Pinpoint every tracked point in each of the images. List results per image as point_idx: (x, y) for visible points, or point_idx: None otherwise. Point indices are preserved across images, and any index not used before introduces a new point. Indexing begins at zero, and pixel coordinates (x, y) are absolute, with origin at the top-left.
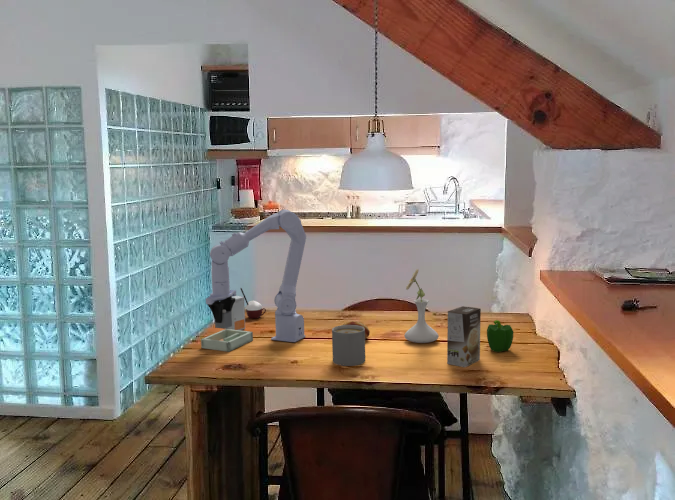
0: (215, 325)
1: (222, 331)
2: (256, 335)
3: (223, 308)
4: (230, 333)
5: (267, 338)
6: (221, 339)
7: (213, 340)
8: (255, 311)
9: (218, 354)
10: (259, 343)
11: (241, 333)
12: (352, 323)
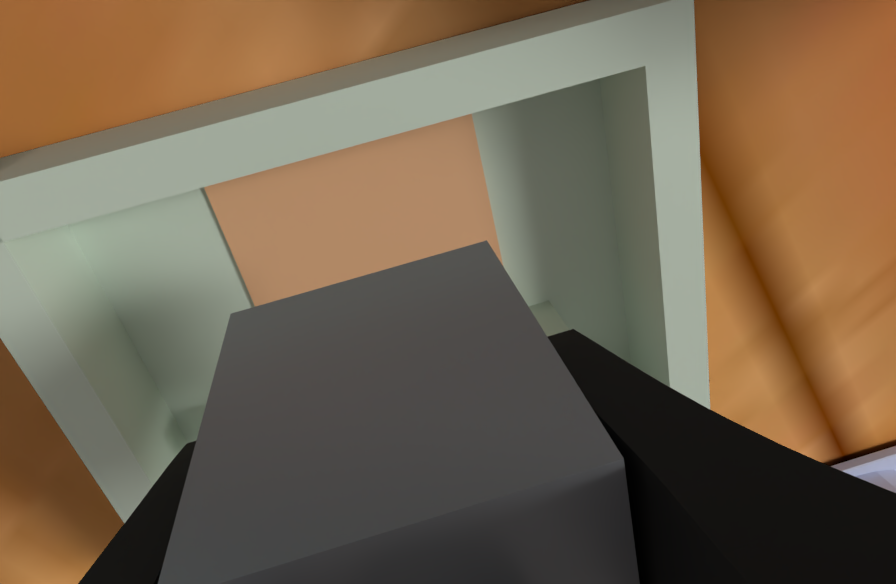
0: (227, 350)
1: (524, 96)
2: (843, 260)
3: (693, 577)
4: (625, 135)
5: (779, 428)
6: (425, 130)
7: (71, 419)
8: None
9: (51, 522)
10: None
11: (652, 322)
12: None
